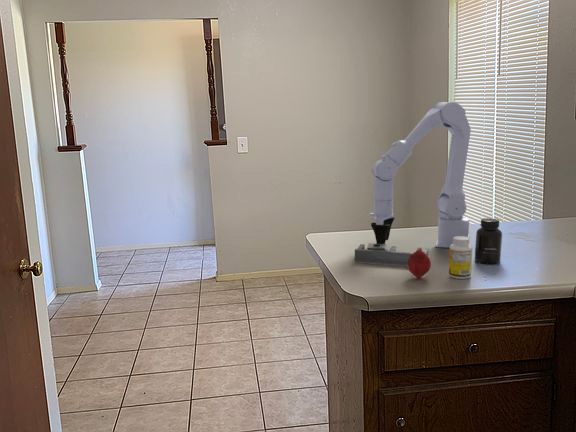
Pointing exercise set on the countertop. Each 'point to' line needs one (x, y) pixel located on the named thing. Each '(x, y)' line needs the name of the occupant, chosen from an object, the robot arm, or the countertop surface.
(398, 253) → the bracket
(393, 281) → the countertop surface
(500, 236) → the supplement bottle
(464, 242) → the supplement bottle
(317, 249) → the countertop surface
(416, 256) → the onion
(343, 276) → the countertop surface
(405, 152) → the robot arm
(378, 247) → the block
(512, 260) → the countertop surface
